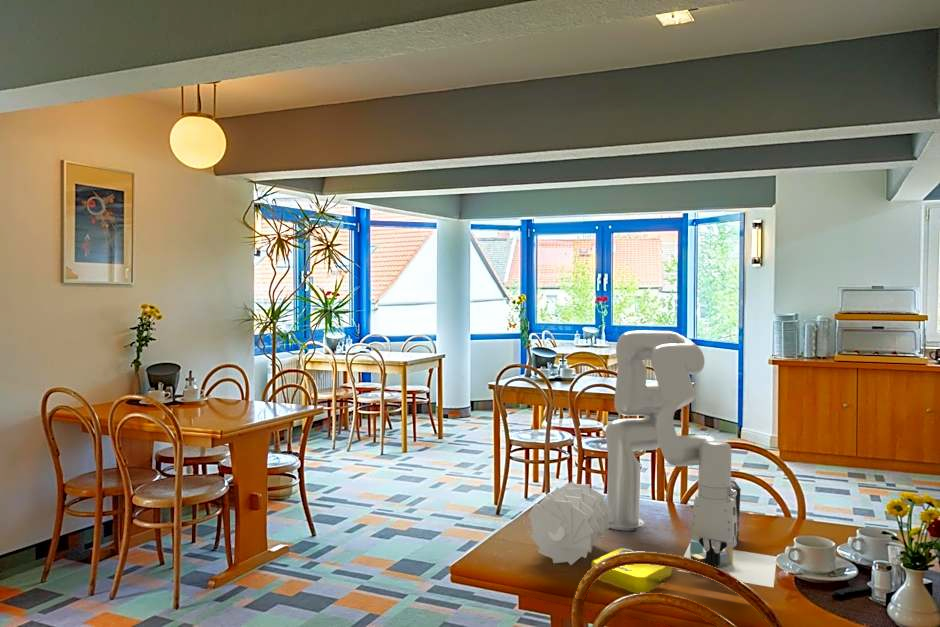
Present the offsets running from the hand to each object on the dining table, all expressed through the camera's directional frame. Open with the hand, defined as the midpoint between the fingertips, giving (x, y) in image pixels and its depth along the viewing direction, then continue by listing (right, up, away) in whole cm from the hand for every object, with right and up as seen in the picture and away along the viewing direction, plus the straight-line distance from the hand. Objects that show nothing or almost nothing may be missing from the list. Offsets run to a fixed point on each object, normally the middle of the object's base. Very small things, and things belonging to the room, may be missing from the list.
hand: (712, 567), depth 180 cm
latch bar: (+1, -1, +4) cm, 4 cm away
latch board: (+6, -3, +7) cm, 10 cm away
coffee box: (+13, -3, +29) cm, 31 cm away
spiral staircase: (-33, -2, +15) cm, 36 cm away
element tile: (-20, -3, 0) cm, 20 cm away
